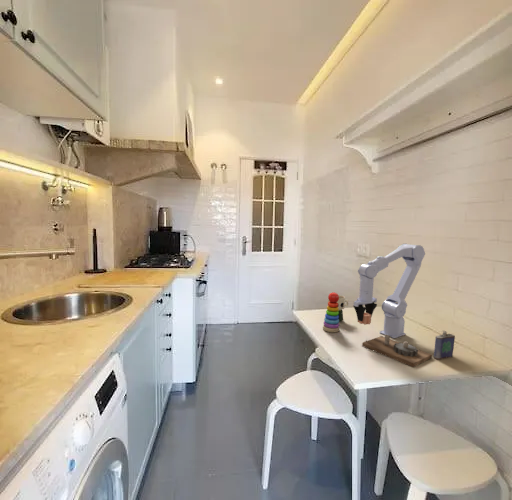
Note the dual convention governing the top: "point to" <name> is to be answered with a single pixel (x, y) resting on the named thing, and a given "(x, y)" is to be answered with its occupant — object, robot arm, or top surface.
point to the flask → (444, 346)
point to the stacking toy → (332, 314)
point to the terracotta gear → (366, 319)
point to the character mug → (341, 306)
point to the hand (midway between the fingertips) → (364, 319)
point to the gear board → (397, 350)
